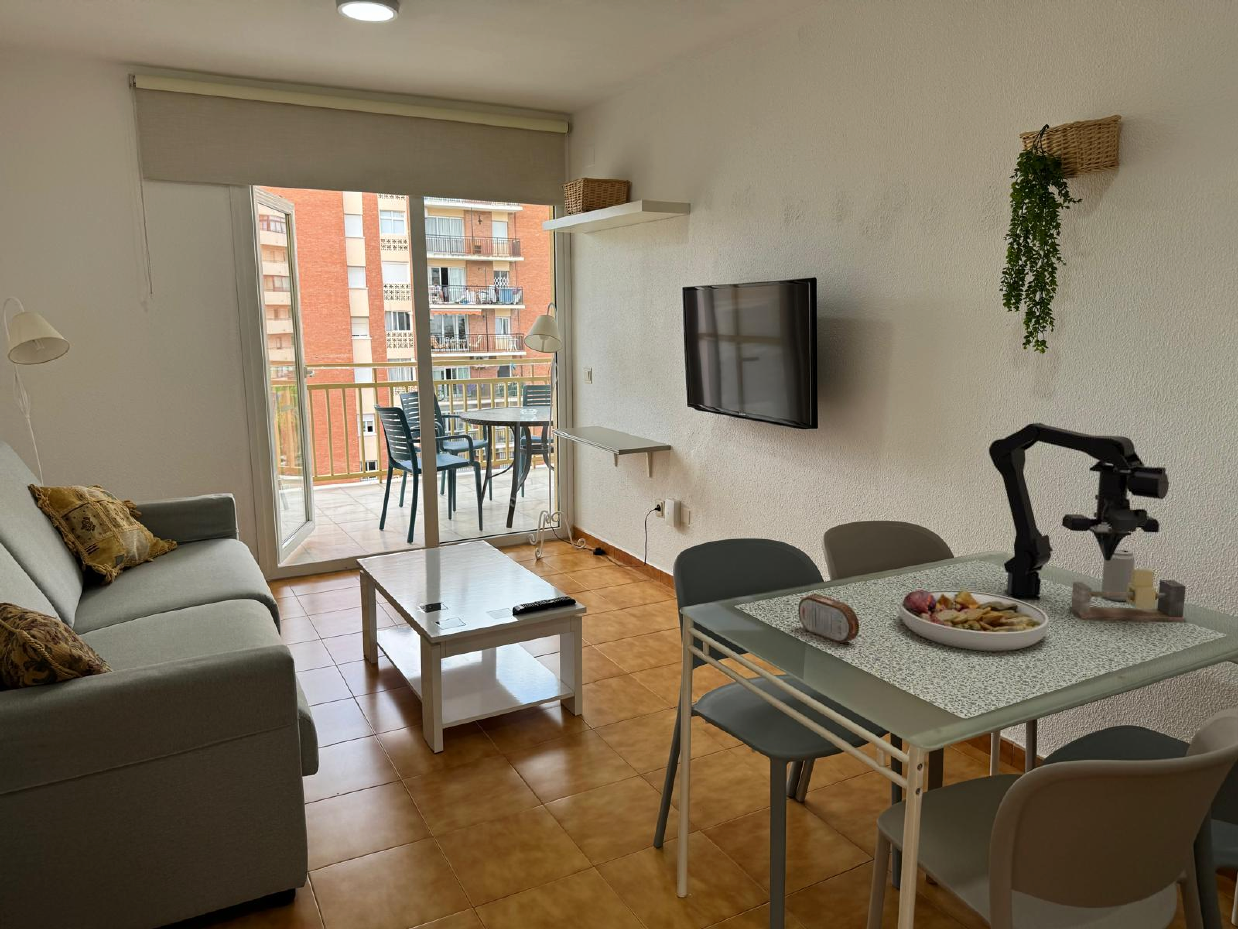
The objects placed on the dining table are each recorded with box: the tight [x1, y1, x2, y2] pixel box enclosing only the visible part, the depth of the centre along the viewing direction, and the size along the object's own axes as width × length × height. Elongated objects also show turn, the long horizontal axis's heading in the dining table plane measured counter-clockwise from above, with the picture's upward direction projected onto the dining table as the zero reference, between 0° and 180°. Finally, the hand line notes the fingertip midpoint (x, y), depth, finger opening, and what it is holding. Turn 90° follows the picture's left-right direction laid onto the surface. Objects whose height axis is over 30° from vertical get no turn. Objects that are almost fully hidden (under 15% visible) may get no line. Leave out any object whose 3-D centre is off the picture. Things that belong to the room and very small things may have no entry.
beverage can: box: [1101, 547, 1135, 602], centre depth 212 cm, size 6×6×12 cm
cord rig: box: [1068, 579, 1187, 623], centre depth 199 cm, size 22×7×8 cm, turn 85°
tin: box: [798, 593, 860, 644], centre depth 185 cm, size 15×3×8 cm, turn 35°
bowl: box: [899, 589, 1050, 652], centre depth 189 cm, size 30×30×8 cm
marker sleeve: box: [1125, 568, 1157, 609], centre depth 198 cm, size 4×4×8 cm
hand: (1107, 560), depth 198 cm, fingers closed
